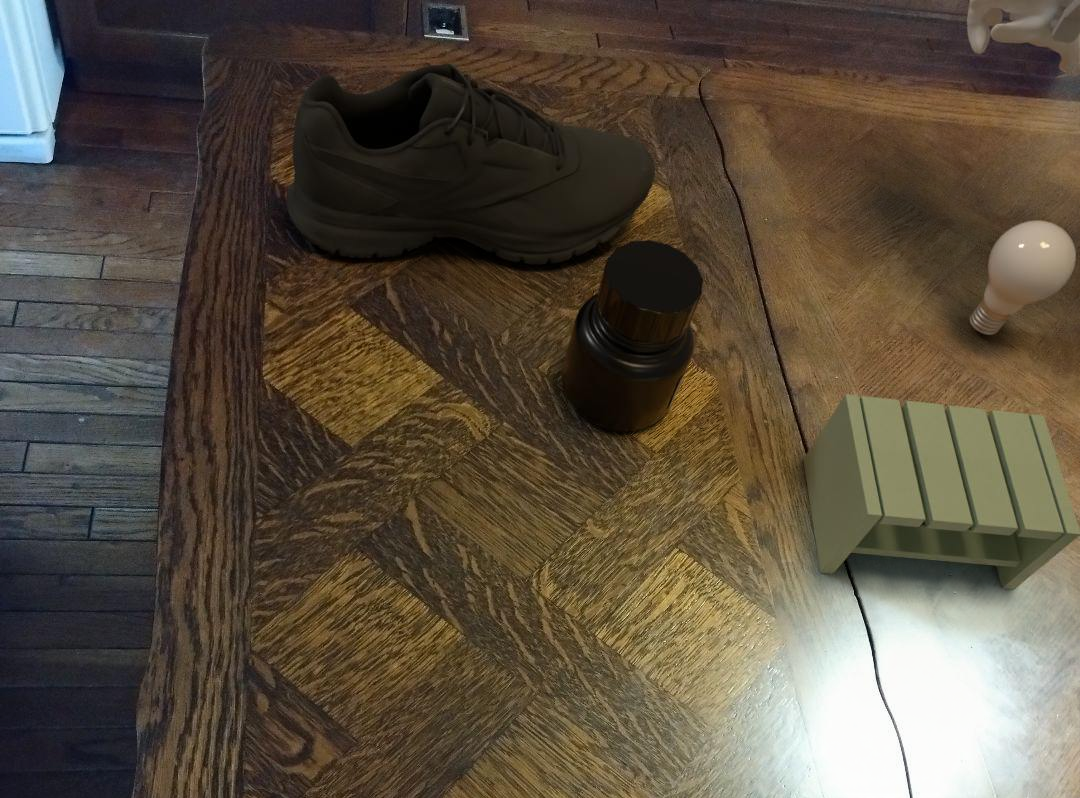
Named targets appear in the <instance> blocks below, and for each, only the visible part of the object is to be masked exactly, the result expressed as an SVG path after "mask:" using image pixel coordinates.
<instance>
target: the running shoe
mask: <svg viewBox="0 0 1080 798" xmlns="http://www.w3.org/2000/svg"><path fill="white" fill-rule="evenodd" d="M471 77H472V76H471V75H470V73H464V74H463V73H462V72H461V70H459V69H458V68H457V66H455V64H453V63H451V62H444V63H442V64H432V65H426V66H423V67H419V68H417V69H414V70H411V71H410V72H408V73H407V74H405V75H402V76H401V77H400V78H398V79H397V80H396V81H395V82H392V83H391V84H389V85H387V86H385V87H383V88H381V89H377V90H374V91H371V92H367V93H353V92H348V91H346V90H344V89H343V87H341V85H340V84H339V81H337V79H336V78H335V77H334V76H333V75H331V74H329V73H324V74H322V75H321V76H318V77H317V78H316V79H314V80H313V81H312V82H310V84H309V85H308V86H307V88H306V89H305V91H304V93H303V95H302V97H301V99H300V102H299V105H298V107H297V110H296V115H295V121H294V131H293V140H292V163H293V170H294V174H293V182H292V183H291V184H290V185H289V187H287V192H286V197H285V198H286V200H285V201H286V209H287V213H288V215H289V218H290V219H291V221H292V223H293V224H294V226H295V228H296V229H297V230H298V231H299V232H300V233H301V235H302V236H303V237H305V238H306V239H307V240H308V241H309V242H310V243H311V244H312V245H315V246H318V248H319V249H321V250H323V251H325V252H328V253H329V254H335V253H337V252H338V254H339V255H340V256H342V257H348V258H358V259H365V258H366V259H371V258H373V256H374V255H376V257H377V258H381V259H382V258H390V257H396V256H400V255H403V253H404V251H407V252H411V251H413V250H414V249H418V248H420V247H422V246H425V245H427V244H428V243H431V242H432V241H433V239H434V238H437V239H442V238H443V239H445V238H454V239H456V238H457V239H460V240H464V241H465V242H468V243H471V244H472V245H474V246H476V247H478V248H480V249H482V250H483V251H486V252H489V253H493V252H494V253H495V255H496V257H498V258H501V259H503V260H506V261H510V262H514V263H519V262H520V261H523V263H524V264H527V265H539V266H540V265H546V264H547V263H548V262H549V263H550V264H558V263H562V262H565V261H568V260H570V259H571V258H572V257H573V255H574V256H577V257H578V256H581V255H583V254H586V253H588V252H589V251H592V250H593V249H594V248H596V247H597V245H598V244H604V243H606V242H607V241H609V240H610V239H611V238H613V237H614V236H615V235H616V234H617V233H618V232H619V229H620V228H624V227H625V226H626V225H627V224H628V223H629V222H630V221H631V219H632V218H633V217H634V215H635V213H636V212H637V210H638V209H639V208H640V206H641V205H642V204H643V203H644V202H645V200H646V199H647V197H648V196H649V194H650V191H651V189H652V187H653V184H654V179H655V176H656V165H655V161H654V159H653V157H652V155H651V153H650V151H649V150H648V149H647V147H646V146H645V145H644V144H643V143H642V142H641V141H638V140H636V139H635V138H633V137H632V138H631V137H630V136H625V135H620V134H617V133H611V132H608V131H607V132H606V131H602V130H597V129H592V128H589V127H581V126H571V125H564V124H562V123H561V122H557V121H555V120H553V119H549V118H545V117H543V116H542V115H540V114H539V113H537V112H536V111H534V110H533V109H531V108H530V107H528V106H527V105H525V104H522V103H520V102H519V101H518V100H516V99H514V98H513V97H512V96H510V95H509V94H507V93H505V92H503V91H502V90H498V89H496V88H493V87H485V88H483V87H482V88H479V83H478V81H477V80H473V79H472V78H471Z"/></svg>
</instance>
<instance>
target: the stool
mask: <svg viewBox="0 0 1080 798" xmlns="http://www.w3.org/2000/svg"><path fill="white" fill-rule="evenodd" d="M802 461H803V467H804V474H805V481H806V487H807V488H806V489H807V494H808V500H809V506H810V512H811V513H810V514H811V520H812V527H813V533H814V538H815V546H816V552H817V553H816V554H817V559H818V566H819V573H821V574H835V572H836V571H837V570H838V569H839V567H841V565H842V564H843V563H844V562H845V561H846V559H847V558H848V557H849V556H850V555H851V554H861V555H862V554H863V555H873V556H885V557H896V558H907V559H919V560H930V561H941V562H952V563H963V564H976V565H987V566H996V571H997V574H998V578H999V581H1000V585H1001V589H1007V590H1016V589H1017V588H1018V587H1019V586H1020V585H1022V584H1023V583H1024V582H1025V581H1026V580H1028V579H1029V578H1030V577H1032V575H1034V574H1035V573H1036V572H1037V571H1039V570H1040V569H1041V568H1042V567H1044V566H1045V565H1046V564H1048V562H1050V561H1051V560H1052V559H1053V558H1055V557H1056V556H1057V555H1058V554H1059V553H1060V552H1062V551H1063V550H1064V549H1065V548H1066V547H1068V546H1069V545H1070V544H1072V542H1074V541H1075V540H1076V539H1077V538H1079V537H1080V526H1079V523H1078V520H1077V517H1076V513H1075V510H1074V507H1073V504H1072V501H1071V498H1070V497H1071V496H1070V495H1069V491H1068V488H1067V485H1066V482H1065V479H1064V476H1063V472H1062V469H1061V465H1060V463H1059V459H1058V456H1057V453H1056V450H1055V447H1054V444H1053V441H1052V438H1051V434H1050V431H1049V427H1048V425H1047V421H1046V418H1045V415H1043V414H1036V413H1035V414H1033V413H1031V414H1030V415H1029V413H1022V412H1012V411H1005V410H995V409H991V411H990V412H989V413H988V414H987V410H986V409H985V408H976V407H969V406H960V405H959V406H958V405H951V404H949V405H948V406H946V408H945V407H944V404H941V403H933V402H924V401H915V400H905V402H904V403H903V404H902V405H901V402H900V399H894V398H886V397H877V396H869V395H868V396H867V395H861V397H860V395H859V394H850V393H845V394H844V396H843V397H842V399H841V400H840V402H839V404H838V405H837V407H836V408H835V410H834V411H833V413H832V414H831V416H830V417H829V419H828V421H827V422H826V424H825V425H824V427H823V428H822V429H821V431H820V433H819V434H818V436H817V437H816V438H815V440H814V441H813V442H812V445H811V446H810V448H809V449H808V451H807V453H806V454H805V456H803V460H802ZM923 523H924V524H925V525H923Z"/></svg>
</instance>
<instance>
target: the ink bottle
mask: <svg viewBox="0 0 1080 798" xmlns="http://www.w3.org/2000/svg"><path fill="white" fill-rule="evenodd" d="M600 280H601V281H600V282H599V287H598V292H597V293H596V294H594V295H592V296H591V297H590V298H588V299H587V300H586V301H585V302H584V303H583V304H582V305H581V307H580V308H579V310H578V312H577V314H576V315H575V319H574V322H573V326H572V330H571V333H570V338H569V342H568V345H567V350H566V353H565V357H564V360H563V365H562V368H561V369H562V370H561V385H562V389H563V392H564V395H565V397H566V398H567V400H568V402H569V403H570V405H571V406H572V408H574V409H575V411H576V412H577V413H578V414H579V415H580V416H582V417H583V418H584V419H585V420H587V421H588V422H589V423H592V424H594V425H595V426H598V427H600V428H602V429H606V430H609V431H614V432H615V431H616V432H633V431H639V430H642V429H645V428H648V427H651V426H653V425H655V424H656V423H658V422H659V421H660V420H661V419H663V418H664V417H665V416H666V415H667V414H668V413H669V410H670V409H671V407H672V406H673V403H674V401H675V399H676V397H677V395H678V392H679V390H680V388H681V385H682V383H683V380H684V378H685V376H686V373H687V371H688V368H689V365H690V363H691V361H692V358H693V355H694V351H695V336H694V331H693V329H692V326H691V322H692V320H693V317H694V315H695V312H696V310H697V307H698V305H699V303H700V300H701V297H702V295H703V283H704V277H702V274H701V272H700V270H699V266H698V265H697V264H696V263H695V262H694V261H693V260H692V259H691V258H690V257H689V256H688V255H687V254H686V253H685V252H684V251H681V250H679V249H677V248H676V247H673V246H672V245H671V244H669V243H663V242H659V241H654V240H652V239H646V240H632V241H631V240H630V241H629V242H627V243H625V244H622V245H620V246H616V248H615V249H614V251H612V253H611V254H610V255H609V256H608V257H607V259H606V262H605V265H604V269H603V272H602V276H601V279H600Z"/></svg>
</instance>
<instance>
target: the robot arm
mask: <svg viewBox="0 0 1080 798" xmlns="http://www.w3.org/2000/svg"><path fill="white" fill-rule="evenodd" d="M1049 29H1050V32H1051V34H1052V37H1053V39H1054V40H1055V41H1058V42H1064V43H1071V42H1073V41H1074V40H1076V38H1077V37H1078V35H1079V34H1080V0H1074V1H1073V2H1072V3H1071V4H1070V5H1069V6H1068V7H1065V6H1060V7H1059V8H1058V10H1057V11H1056V13H1055V15H1054V18H1053V19H1052V20H1051V21H1050V23H1049Z"/></svg>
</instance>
